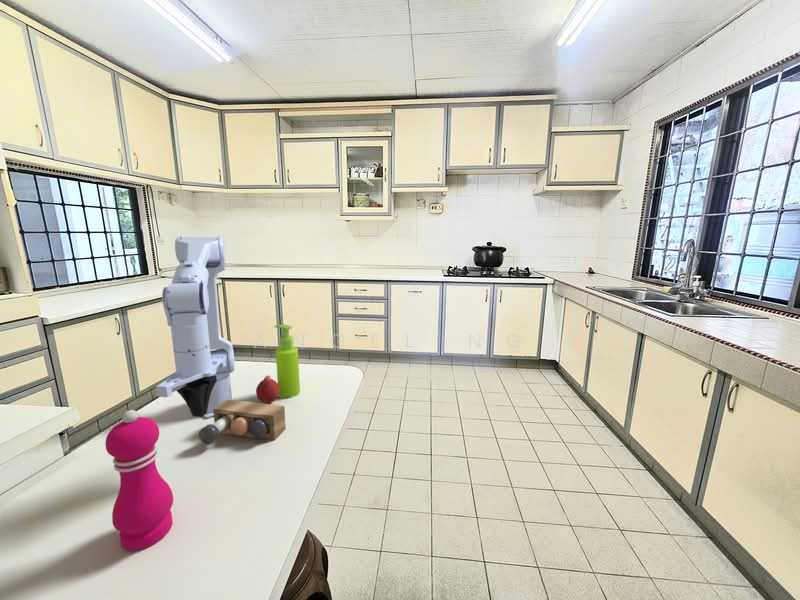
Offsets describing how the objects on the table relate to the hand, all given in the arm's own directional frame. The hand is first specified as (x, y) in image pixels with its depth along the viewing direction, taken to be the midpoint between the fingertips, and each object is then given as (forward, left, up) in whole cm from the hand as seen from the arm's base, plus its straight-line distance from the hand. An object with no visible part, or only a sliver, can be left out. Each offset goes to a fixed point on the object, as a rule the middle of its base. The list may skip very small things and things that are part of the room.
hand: (199, 414), depth 64 cm
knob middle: (-4, +10, -9) cm, 14 cm away
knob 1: (-6, +5, -9) cm, 12 cm away
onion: (-13, +20, -11) cm, 27 cm away
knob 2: (0, +13, -9) cm, 16 cm away
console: (-4, +11, -10) cm, 16 cm away
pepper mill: (+11, -12, -11) cm, 19 cm away
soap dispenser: (-15, +27, -11) cm, 33 cm away
